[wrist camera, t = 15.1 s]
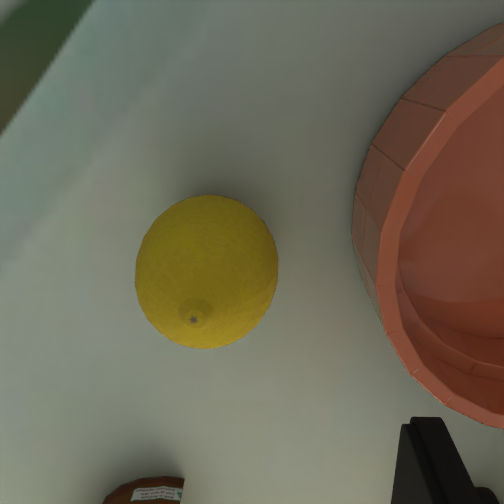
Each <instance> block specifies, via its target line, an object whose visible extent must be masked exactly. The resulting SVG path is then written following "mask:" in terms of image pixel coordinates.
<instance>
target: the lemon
mask: <svg viewBox="0 0 504 504" xmlns="http://www.w3.org/2000/svg"><path fill="white" fill-rule="evenodd" d="M277 281H278V255H277V251H276V247H275V243H274V240H273V237H272V236H271V234H270V232H269V230H268V228H267V226H266V225H265V223H264V222H263V221H262V220H261V218H260V217H259V216H258V215H257V214H256V213H255V212H254V211H253V210H252V209H250V208H249V207H247V206H245V205H244V204H242V203H241V202H239V201H237V200H234V199H231V198H228V197H225V196H217V195H202V196H196V197H190V198H188V199H185V200H183V201H181V202H179V203H176V204H174V205H173V206H171V207H170V208H169V209H168V210H166V211H165V212H164V213H163V214H161V215H160V216H159V217H158V218H157V219H156V220H155V222H154V223H153V224H152V226H151V227H150V229H149V230H148V231H147V233H146V234H145V236H144V238H143V241H142V244H141V247H140V250H139V253H138V256H137V260H136V274H135V287H136V291H137V296H138V300H139V304H140V306H141V308H142V310H143V312H144V314H145V316H146V317H147V319H148V320H149V321H150V322H151V324H152V325H153V326H154V327H155V328H156V329H157V330H158V331H159V332H160V333H161V334H163V335H164V336H165V337H167V338H168V339H170V340H171V341H174V342H176V343H179V344H181V345H183V346H188V347H193V348H198V349H200V348H216V347H220V346H224V345H228V344H230V343H232V342H234V341H236V340H238V339H240V338H242V337H243V336H245V335H246V334H247V333H248V332H249V331H250V330H252V329H253V328H254V327H255V326H256V325H257V324H258V323H259V321H260V320H261V318H262V317H263V315H264V314H265V312H266V311H267V309H268V308H269V306H270V303H271V301H272V298H273V295H274V292H275V289H276V286H277Z"/></svg>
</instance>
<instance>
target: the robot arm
mask: <svg viewBox="0 0 504 504" xmlns="http://www.w3.org/2000/svg"><path fill="white" fill-rule="evenodd" d="M391 504H500V503H499V501H498V500H497V498H496V496H495V495H494V493H493V492H492V491H491V490H490V489H489V488H484V487H474V485H473V483H472V481H471V479H470V476H469V474H468V472H467V470H466V468H465V466H464V464H463V462H462V459H461V457H460V455H459V453H458V451H457V449H456V447H455V444H454V442H453V440H452V438H451V436H450V434H449V432H448V430H447V427H446V425H445V423H444V421H443V420H442V419H441V418H440V417H412V418H411V419H410V423H409V424H402V426H401V431H400V439H399V446H398V454H397V462H396V469H395V477H394V484H393V492H392V499H391Z"/></svg>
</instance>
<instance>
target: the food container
mask: <svg viewBox="0 0 504 504" xmlns="http://www.w3.org/2000/svg"><path fill="white" fill-rule="evenodd" d="M183 485H184V479H182V478H174V477H154V478H142V479H139V480H136V481H133V482H130V483H127V484H124V485H121V486H120V487H119V488H117V489H116V490H115V491H113V492H112V493H111V494H109V495H108V496H107V497H106V498H105V500H104V502H103V503H102V504H180V501H181V495H182V490H183Z"/></svg>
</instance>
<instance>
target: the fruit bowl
mask: <svg viewBox="0 0 504 504" xmlns="http://www.w3.org/2000/svg"><path fill="white" fill-rule="evenodd" d="M355 191H356V192H355V193H354V207H353V222H352V241H353V245H354V250H355V254H356V259H357V263H358V268H359V272H360V276H361V279H362V281H363V283H364V286H365V288H366V290H367V293H368V295H369V297H370V299H371V302H372V304H373V306H374V308H375V311H376V313H377V315H378V317H379V320H380V322H381V324H382V327H383V329H384V331H385V333H386V336H387V337H388V339H389V341H390V343H391V344H392V346H393V348H394V349H395V351H396V353H397V355H398V356H399V358H400V360H401V362H402V363H403V365H404V367H405V368H406V370H407V372H408V373H409V374H410V375H411V376H412V377H413V378H414V379H415V380H416V381H417V382H419V383H420V384H421V385H422V386H423V387H424V388H425V389H426V390H427V391H428V392H430V393H431V394H432V395H433V396H434V397H435V398H436V399H437V400H438V401H439V402H441V403H443V405H445V406H447V407H449V408H451V409H453V410H455V411H458V412H460V413H462V414H464V415H466V416H468V417H470V418H472V419H474V420H476V421H478V422H480V423H482V424H484V425H487V426H492V427H496V428H501V429H504V22H503V23H500V24H498V25H496V26H493V27H492V28H490V29H488V30H487V31H485V32H483V33H482V34H480V35H478V36H477V37H475V38H473V39H472V40H470V41H468V42H467V43H465V44H463V45H461V46H460V47H458V48H456V49H455V50H453V51H451V52H450V53H448V54H446V55H445V57H443V58H441V59H440V60H439V61H438V62H437V63H436V64H435V65H434V66H433V67H432V68H431V69H430V70H429V71H428V72H427V73H426V74H425V75H424V76H423V77H422V78H421V79H420V80H419V81H417V82H416V83H415V84H414V85H413V86H412V87H411V88H410V89H409V90H408V91H407V92H406V93H405V94H404V95H403V96H402V98H401V99H400V100H399V101H398V103H397V104H396V106H395V107H394V109H393V110H392V112H391V114H390V115H389V117H388V118H387V120H386V121H385V123H384V124H383V126H382V128H381V129H380V131H379V132H378V134H377V135H376V137H375V138H374V140H373V141H372V144H371V145H370V148H369V151H368V154H367V157H366V160H365V162H364V165H363V168H362V171H361V174H360V177H359V180H358V183H357V186H356V189H355Z"/></svg>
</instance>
